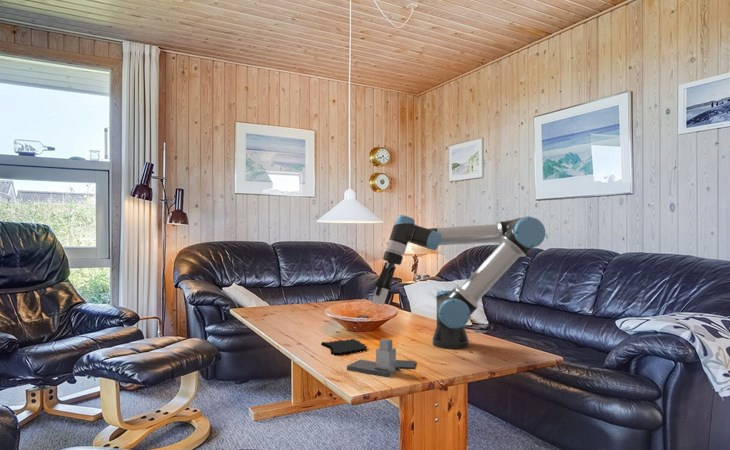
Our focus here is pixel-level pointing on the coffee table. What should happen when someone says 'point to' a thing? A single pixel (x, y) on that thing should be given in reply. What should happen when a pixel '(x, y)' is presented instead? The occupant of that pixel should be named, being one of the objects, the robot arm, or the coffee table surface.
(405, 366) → the pad
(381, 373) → the slotted plate
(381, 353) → the stepped metal tower
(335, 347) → the decorative item
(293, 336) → the coffee table surface
